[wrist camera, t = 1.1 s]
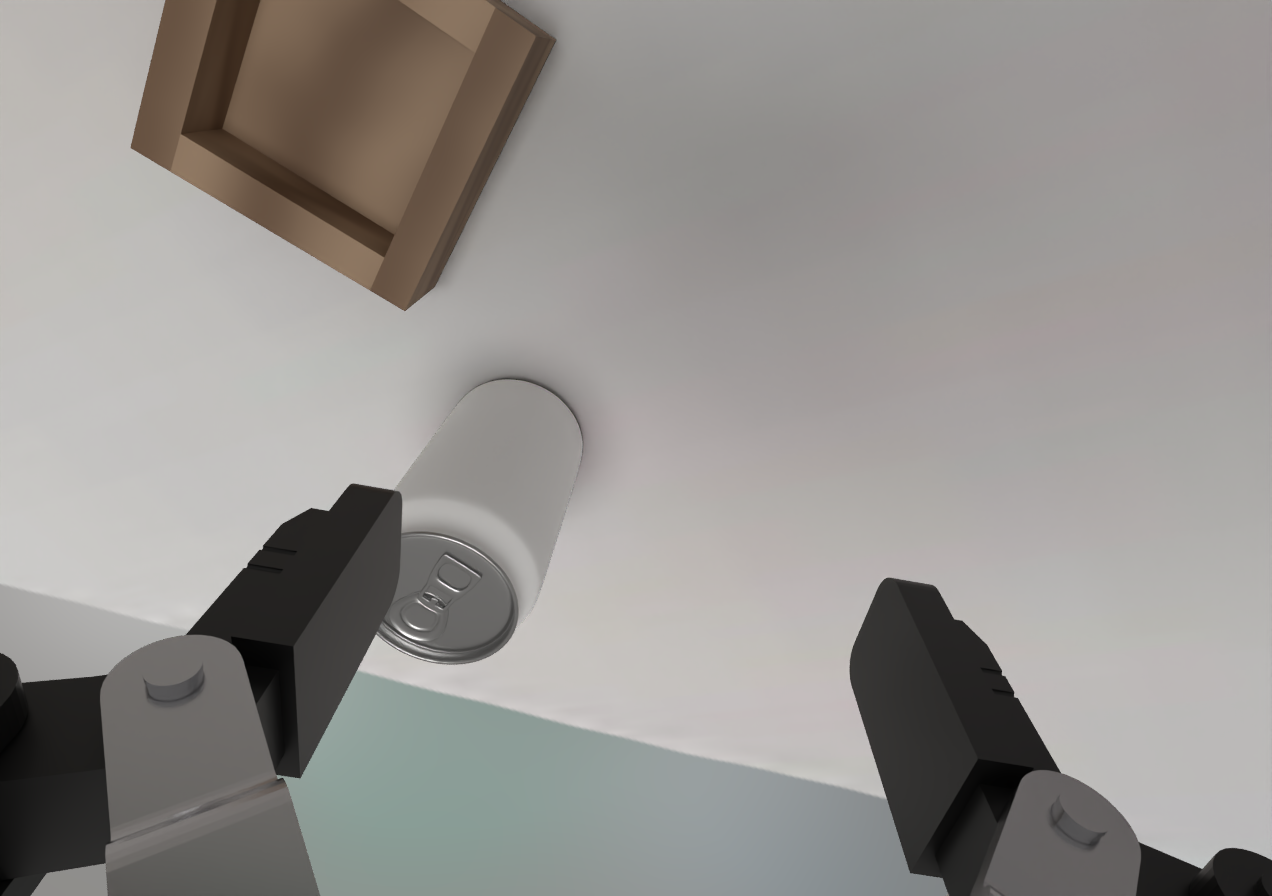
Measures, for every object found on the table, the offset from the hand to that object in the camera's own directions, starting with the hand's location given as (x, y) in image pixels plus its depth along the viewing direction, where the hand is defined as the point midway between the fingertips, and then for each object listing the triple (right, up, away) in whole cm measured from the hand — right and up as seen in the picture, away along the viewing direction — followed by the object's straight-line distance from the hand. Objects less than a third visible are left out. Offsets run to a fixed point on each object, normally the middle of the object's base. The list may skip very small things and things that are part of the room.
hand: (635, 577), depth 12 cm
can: (-6, +3, +23) cm, 23 cm away
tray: (-10, +16, +16) cm, 25 cm away
